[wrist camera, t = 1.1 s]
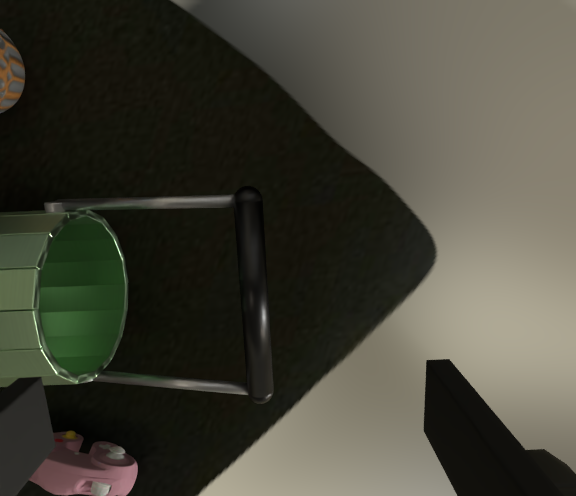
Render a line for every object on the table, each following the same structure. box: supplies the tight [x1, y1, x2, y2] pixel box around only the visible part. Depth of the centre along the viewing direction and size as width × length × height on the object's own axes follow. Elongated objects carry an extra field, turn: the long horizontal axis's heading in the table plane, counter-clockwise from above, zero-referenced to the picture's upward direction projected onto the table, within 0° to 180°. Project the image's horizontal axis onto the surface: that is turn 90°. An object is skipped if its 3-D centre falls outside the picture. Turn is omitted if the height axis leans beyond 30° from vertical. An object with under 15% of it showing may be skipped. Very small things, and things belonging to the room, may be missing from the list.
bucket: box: [0, 186, 273, 404], centre depth 25 cm, size 11×13×22 cm
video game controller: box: [29, 431, 138, 496], centre depth 31 cm, size 10×5×7 cm, turn 72°
